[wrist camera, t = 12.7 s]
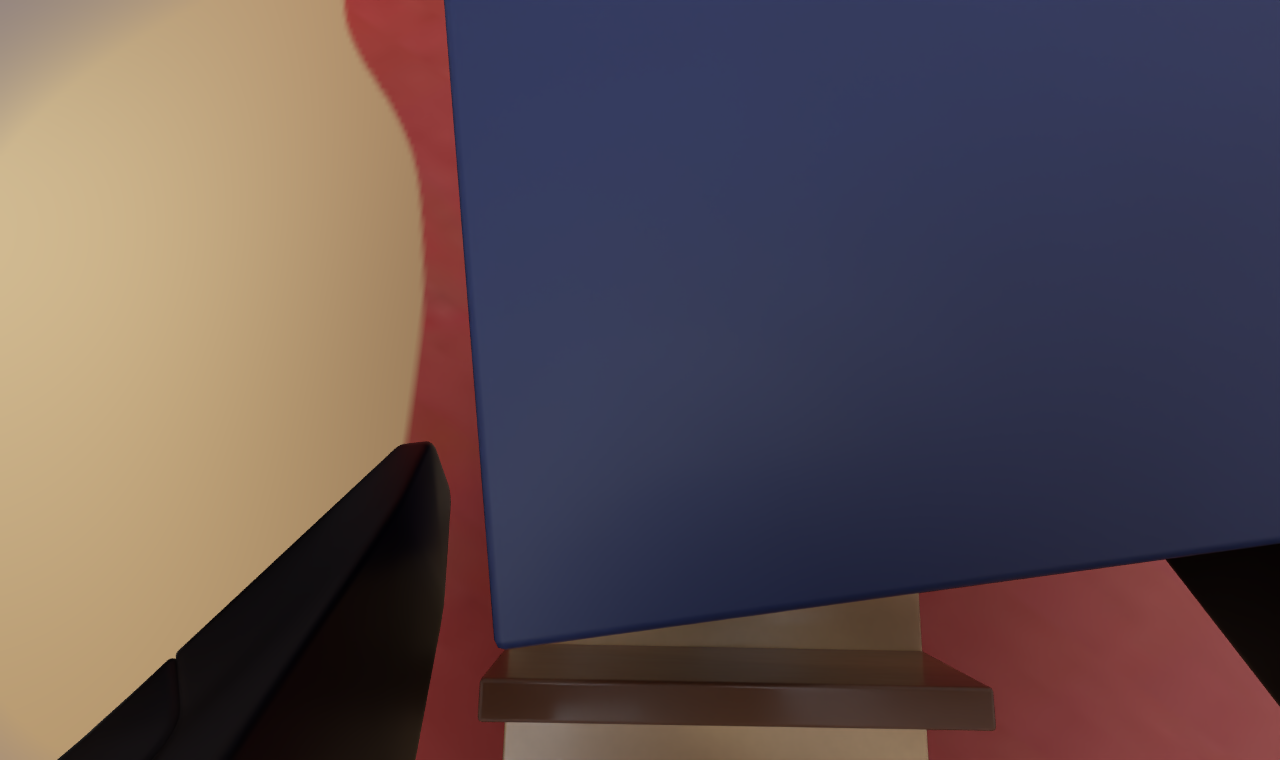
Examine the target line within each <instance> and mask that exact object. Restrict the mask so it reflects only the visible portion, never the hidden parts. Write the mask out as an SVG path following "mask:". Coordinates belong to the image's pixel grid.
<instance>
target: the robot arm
mask: <svg viewBox="0 0 1280 760" xmlns="http://www.w3.org/2000/svg"><path fill="white" fill-rule="evenodd" d="M450 506H451V499H450V490H449V486H448V483H447V480H446V477H445V474H444V471H443V468H442V465H441V462H440V460H439V457H438V454H437V451H436V449H435V447H434V446H433V444H432V443H430V442H417V443H409V444H403V445H400V446H398V447H397V448H396V449H394V450H393V451H392V452H391V453H390V454H389V455H388V456H387V457H386V458H385V459H384V460H383V461H381V463H379V464H378V465H377V466H376V467H375V468H374V469H373V470H372V471H371V472H370V473H368V474H367V476H365V477H364V478H363V479H362V480H361V481H360V482H359V483H358V484H357V485H356V486H355V487H354V488H352V489H351V490H350V491H349V492H348V493H347V494H346V495H345V496H344V497H343V498H342V499H341V500H340V501H339V502H337V503H336V504H335V505H334V506H333V507H332V508H331V509H330V510H329V511H328V512H327V513H326V514H325V515H323V516H322V517H321V518H320V519H319V520H318V521H317V522H316V523H315V524H314V525H313V526H312V527H311V528H310V529H308V530H307V531H306V532H305V533H304V534H303V535H302V536H301V537H300V538H299V539H298V540H297V541H296V542H295V543H293V544H292V545H291V546H290V547H289V548H288V549H287V550H286V551H285V552H284V553H283V554H282V555H281V556H279V557H278V558H277V559H276V560H275V561H274V562H273V563H272V564H271V565H270V566H269V567H268V568H267V569H266V570H265V571H263V572H262V573H261V574H260V575H259V576H258V577H257V578H256V579H255V580H254V581H253V582H252V583H250V585H248V586H247V587H246V588H245V589H244V590H243V591H242V592H241V593H240V594H239V595H238V596H237V597H235V599H233V600H232V601H231V602H230V603H229V604H228V605H227V606H226V607H225V608H224V609H223V610H222V611H221V612H219V613H218V614H217V615H216V616H215V617H214V618H213V619H212V620H211V621H210V622H209V623H208V624H207V625H205V627H204V628H202V629H201V630H200V631H199V632H198V633H197V634H196V635H195V636H194V637H193V638H191V639H190V641H188V642H187V643H186V644H185V645H184V646H183V647H182V648H181V649H180V650H179V651H178V652H177V653H176V659H173V658H172V659H169V660H168V661H167V662H165V663H164V664H163V665H162V666H161V667H160V668H159V669H158V670H157V671H156V672H155V673H154V674H153V675H151V676H150V677H149V678H148V679H147V680H146V681H145V682H144V683H143V684H142V685H141V686H140V687H139V688H138V689H136V690H135V691H134V692H133V693H132V694H131V695H130V696H129V697H128V698H127V699H125V700H124V701H123V702H122V703H121V704H120V705H119V706H118V707H117V708H115V709H114V710H113V711H112V712H111V713H110V714H109V715H108V716H107V717H106V718H104V719H103V720H102V721H101V722H100V723H99V724H98V725H97V726H95V727H94V728H93V729H92V730H91V731H90V732H89V733H88V734H87V735H86V736H84V737H83V738H82V739H81V740H80V741H79V742H78V743H76V744H75V745H74V746H73V747H72V748H71V749H69V750H68V751H67V752H66V753H65V754H63V755H62V756H61V757H60V758H59V759H58V760H415V759H416V753H417V748H418V743H419V737H420V732H421V727H422V721H423V716H424V711H425V705H426V700H427V695H428V689H429V684H430V679H431V673H432V668H433V663H434V658H435V652H436V647H437V642H438V636H439V631H440V626H441V619H442V613H443V606H444V595H445V582H446V567H447V551H448V536H449V521H450ZM1166 561H1167V562H1168V563H1169V564H1170V566H1171V567H1172V568H1173V570H1174V571H1175V572H1176V574H1177V575H1178V576H1179V577H1180V579H1181V580H1182V581H1183V583H1184V584H1185V585H1186V586H1187V588H1188V589H1189V590H1190V592H1191V593H1192V594H1193V595H1194V597H1195V598H1196V599H1197V601H1198V602H1199V603H1200V604H1201V606H1202V607H1203V608H1204V610H1205V611H1206V612H1207V613H1208V615H1209V616H1210V617H1211V619H1212V620H1213V621H1214V622H1215V624H1216V625H1217V626H1218V628H1219V629H1220V630H1221V632H1222V633H1223V634H1224V635H1225V637H1226V638H1227V639H1228V641H1229V642H1230V643H1231V644H1232V646H1233V647H1234V648H1235V650H1236V651H1237V652H1238V653H1239V655H1240V656H1241V657H1242V659H1243V660H1244V661H1245V662H1246V664H1247V665H1248V666H1249V668H1250V669H1251V670H1252V671H1253V673H1254V674H1255V675H1256V677H1257V678H1258V679H1259V680H1260V682H1261V683H1262V684H1263V686H1264V687H1265V688H1266V690H1267V691H1268V692H1269V693H1270V695H1271V696H1272V697H1273V699H1274V700H1275V701H1276V702H1277V704H1278V705H1279V706H1280V544H1273V545H1266V546H1259V547H1251V548H1244V549H1237V550H1229V551H1222V552H1215V553H1208V554H1200V555H1193V556H1186V557H1178V558H1171V559H1166Z"/></svg>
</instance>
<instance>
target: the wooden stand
mask: <svg viewBox="0 0 1280 760" xmlns="http://www.w3.org/2000/svg"><path fill="white" fill-rule="evenodd" d="M478 719H479V721H481V722H505V727H504V745H503V760H928V745H927V730H976V731H993V730H995V728H996V722H995V710H994V697H993V691H992V689H991V688H990V687H988V686H986V685H985V684H983V683H981V682H979V681H977V680H975V679H973V678H971V677H969V676H968V675H966V674H964V673H962V672H960V671H958V670H956V669H954V668H952V667H951V666H949V665H947V664H945V663H943V662H941V661H939V660H937V659H935V658H934V657H932V656H930V655H928V654H926V653H924V652H922V643H921V625H920V608H919V593H916V594H909V595H901V596H894V597H887V598H879V599H872V600H865V601H858V602H850V603H843V604H836V605H828V606H821V607H814V608H806V609H799V610H792V611H785V612H777V613H770V614H763V615H755V616H748V617H741V618H734V619H726V620H719V621H712V622H704V623H697V624H690V625H682V626H675V627H668V628H661V629H653V630H646V631H639V632H631V633H624V634H617V635H610V636H602V637H595V638H588V639H580V640H573V641H566V642H558V643H551V644H544V645H537V646H529V647H522V648H515V649H507V650H504V651H503V653H502V654H501V655H500V656H499V658H498V659H497V660H496V661H495V663H494V664H493V665H492V666H491V667H490V669H489V670H488V671H487V672H486V674H485V675H484V676H483V677H482V679H481V681H480V690H479V705H478Z"/></svg>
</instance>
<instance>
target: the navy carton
mask: <svg viewBox="0 0 1280 760" xmlns="http://www.w3.org/2000/svg"><path fill="white" fill-rule="evenodd" d="M444 5H445V18H446V31H447V44H448V56H449V69H450V82H451V95H452V107H453V120H454V133H455V145H456V158H457V171H458V184H459V196H460V209H461V222H462V235H463V247H464V260H465V273H466V286H467V298H468V311H469V324H470V337H471V349H472V362H473V375H474V387H475V400H476V413H477V426H478V438H479V451H480V464H481V477H482V489H483V502H484V515H485V528H486V540H487V553H488V566H489V579H490V591H491V604H492V617H493V629H494V640H495V642H496V644H497V646H498V648H502V649H505V650H507V649H515V648H522V647H529V646H537V645H544V644H551V643H558V642H566V641H573V640H580V639H588V638H595V637H602V636H610V635H617V634H624V633H631V632H639V631H646V630H653V629H661V628H668V627H675V626H682V625H690V624H697V623H704V622H712V621H719V620H726V619H734V618H741V617H748V616H755V615H763V614H770V613H777V612H785V611H792V610H799V609H806V608H814V607H821V606H828V605H836V604H843V603H850V602H858V601H865V600H872V599H879V598H887V597H894V596H901V595H909V594H916V593H923V592H930V591H938V590H945V589H952V588H960V587H967V586H974V585H982V584H989V583H996V582H1003V581H1011V580H1018V579H1025V578H1033V577H1040V576H1047V575H1054V574H1062V573H1069V572H1076V571H1084V570H1091V569H1098V568H1105V567H1113V566H1120V565H1127V564H1135V563H1142V562H1149V561H1157V560H1164V559H1171V558H1178V557H1186V556H1193V555H1200V554H1208V553H1215V552H1222V551H1229V550H1237V549H1244V548H1251V547H1259V546H1266V545H1273V544H1280V0H444Z"/></svg>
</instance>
